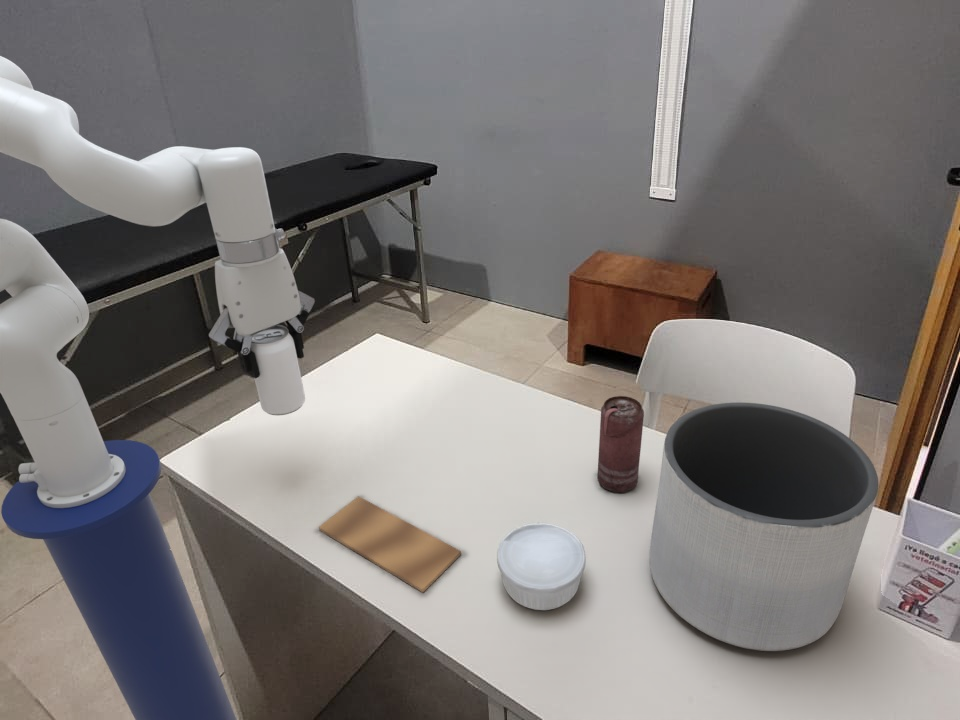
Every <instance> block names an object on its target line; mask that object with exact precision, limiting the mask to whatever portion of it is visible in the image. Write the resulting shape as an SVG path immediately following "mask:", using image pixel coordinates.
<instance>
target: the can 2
mask: <svg viewBox="0 0 960 720" xmlns="http://www.w3.org/2000/svg"><path fill="white" fill-rule="evenodd" d="M644 418H645V410H644V408H643V406H642V404H641V402H640V401H638V400H637V399H635V398H633V397H630V396H626V395H615V396H612V397H609V398H607V399H606V400H604V402H603V405H602V406H601V408H600V422H599V423H600V424H599V438H598V439H599V441H598V458H597V460H598V461H597V475H596V476H597V478H596V479H597V481H598V483H599V484H600V485H601V487H602V488H603V489H605V490H607V491H609V492H613V493H619V494H620V493H626V492H629V491H631V490H632V489H634V487H636V485H637V483H638V479H639V470H640V459H641V448H642V438H643V429H644Z"/></svg>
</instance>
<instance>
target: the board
mask: <svg viewBox="0 0 960 720" xmlns="http://www.w3.org/2000/svg"><path fill="white" fill-rule="evenodd" d="M318 530H319V531H320V532H321V533H323V534H325V535H327V536H328V537H329V538H331V539H333V540H335V541H337V542H338V543H340V544H341V545H343V546H345V547H346V548H347V549H350V550H351V551H353V552H354V553H357V554H358V555H360V556H361V557H363V558H364V559H366V560H368V561H370V562H372V564H375V565H376V566H378V567H379V568H381V569H383V570H384V571H386V572H387V573H389V574H391V575H392V576H395V577H396V578H398V579H399V580H401V581H403V582H404V583H406V584H408V586H411V587H412V588H414V589H416V590H417V591H419V592H421V593H425V592H426V591H427V590H428V589H429V588H430V586H431V585H433V584H434V583H435V581H436V580H437V579H439V578H440V576H441V575H443V574H444V573H445V571H446V570H448V569H449V567H450V566H451V565H452V564H453V563H454V562H455V561H456V560H457V559H458V558H459V557H460V556H461V555H462V551H461V550H460V549H458V548H456V547H454V546H452V545H450V544H449V543H447V542H445V541H443V540H441V539H439V538H437V537H436V536H433V535H432V534H430V533H428V532H426V531H424V530H422V529H421V528H418V527H416V526H415V525H413V524H411V523H409V522H407V521H406V520H404V519H402V518H400V517H399V516H396V515H394V514H392V513H390V512H389V511H387V510H385V509H383V508H381V507H379V506H378V505H375V504H374V503H372V502H370V501H368V500H366V499H365V498H363V497H361V496H357V497H356V498H354V499H353V500H351V501H350V502H349V503H347V505H345V506H344V507H342V508H341V509H340V510H339V511H337V512H336V513H335V514H333V515H332V516H331V517H329V519H327V520H326V521H324V522H323V523H322V524H321V525H319V526H318Z"/></svg>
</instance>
